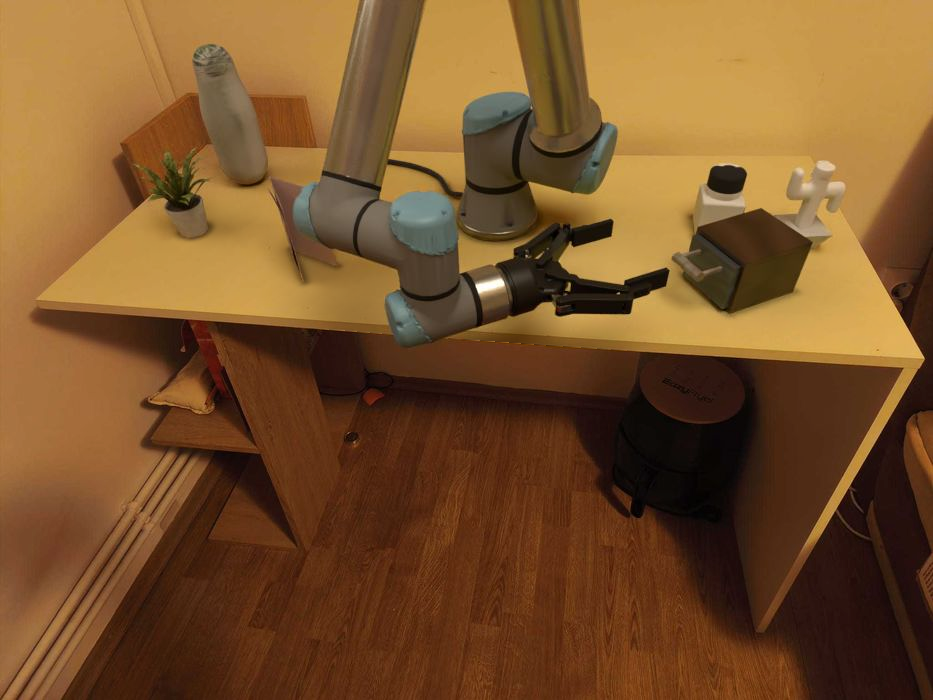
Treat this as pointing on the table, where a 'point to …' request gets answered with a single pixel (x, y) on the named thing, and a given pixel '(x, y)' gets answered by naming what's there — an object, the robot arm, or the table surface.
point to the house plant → (180, 195)
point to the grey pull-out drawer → (709, 270)
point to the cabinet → (759, 255)
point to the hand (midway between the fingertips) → (637, 250)
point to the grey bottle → (229, 116)
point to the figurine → (813, 201)
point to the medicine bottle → (720, 195)
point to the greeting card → (297, 242)
